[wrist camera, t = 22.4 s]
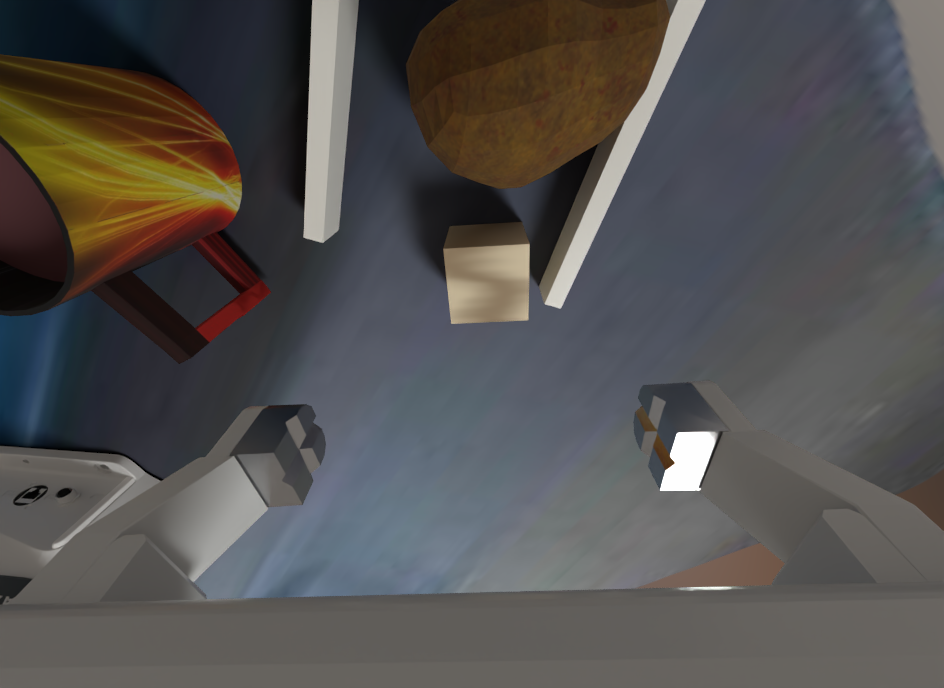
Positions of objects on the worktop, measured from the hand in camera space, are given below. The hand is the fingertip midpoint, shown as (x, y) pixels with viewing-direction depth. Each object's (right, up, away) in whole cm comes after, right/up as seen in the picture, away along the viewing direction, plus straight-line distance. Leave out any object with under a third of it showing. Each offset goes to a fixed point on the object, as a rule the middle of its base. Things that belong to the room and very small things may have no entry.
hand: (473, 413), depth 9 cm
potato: (+3, +16, +12) cm, 21 cm away
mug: (-18, +13, +15) cm, 27 cm away
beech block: (+1, +9, +14) cm, 17 cm away
